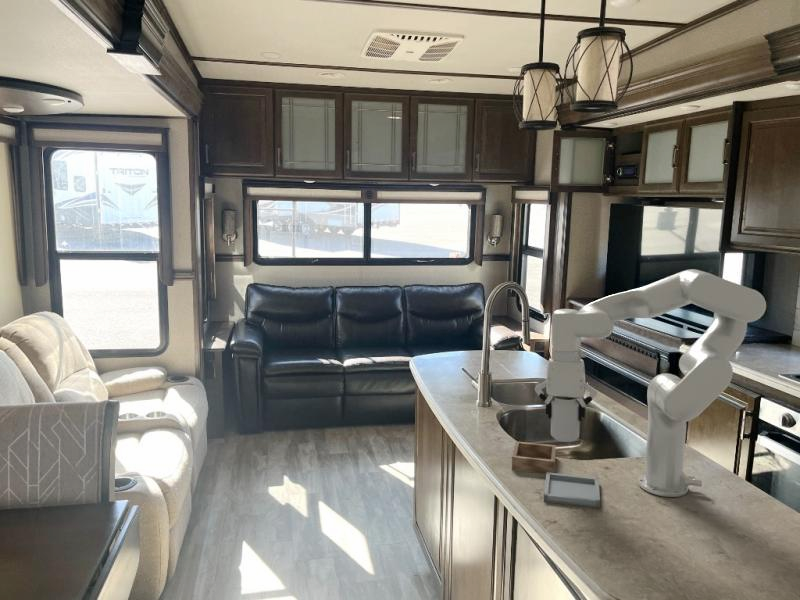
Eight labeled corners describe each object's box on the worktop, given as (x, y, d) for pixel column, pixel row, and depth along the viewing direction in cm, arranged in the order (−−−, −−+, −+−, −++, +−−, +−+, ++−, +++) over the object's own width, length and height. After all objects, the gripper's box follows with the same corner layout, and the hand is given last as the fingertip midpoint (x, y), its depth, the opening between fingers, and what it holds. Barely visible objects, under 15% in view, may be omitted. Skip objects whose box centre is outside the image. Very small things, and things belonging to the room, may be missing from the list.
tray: (598, 484, 172) (598, 478, 172) (599, 508, 159) (600, 501, 158) (546, 478, 176) (546, 472, 175) (543, 501, 162) (543, 494, 162)
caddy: (555, 457, 189) (555, 445, 189) (554, 474, 178) (554, 461, 177) (515, 453, 193) (516, 441, 192) (511, 469, 181) (512, 456, 181)
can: (579, 444, 165) (580, 401, 163) (550, 442, 167) (550, 399, 165) (578, 433, 172) (579, 392, 170) (551, 432, 174) (551, 391, 172)
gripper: (600, 353, 167) (598, 416, 170) (534, 350, 172) (534, 411, 175) (599, 360, 160) (598, 426, 163) (531, 357, 165) (531, 420, 168)
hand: (565, 417), depth 169 cm, fingers closed on can, 7 cm apart
